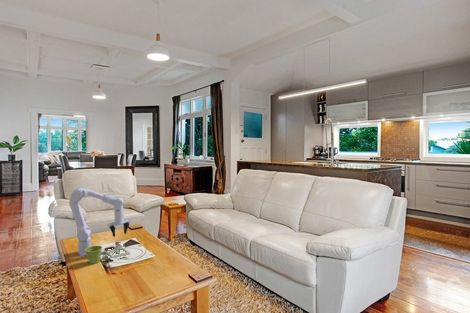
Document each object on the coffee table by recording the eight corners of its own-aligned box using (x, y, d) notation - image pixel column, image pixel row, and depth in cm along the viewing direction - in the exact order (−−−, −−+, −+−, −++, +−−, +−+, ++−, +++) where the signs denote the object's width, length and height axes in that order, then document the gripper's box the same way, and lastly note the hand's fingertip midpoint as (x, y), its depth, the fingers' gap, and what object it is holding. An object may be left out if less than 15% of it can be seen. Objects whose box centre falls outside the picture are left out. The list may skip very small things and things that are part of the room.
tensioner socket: (104, 251, 191) (104, 248, 191) (113, 249, 195) (113, 245, 195) (107, 254, 187) (107, 250, 187) (116, 251, 191) (116, 248, 191)
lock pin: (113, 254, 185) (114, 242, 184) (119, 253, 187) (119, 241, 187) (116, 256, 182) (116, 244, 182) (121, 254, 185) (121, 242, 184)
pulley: (115, 248, 196) (114, 244, 196) (123, 246, 200) (123, 242, 200) (118, 251, 192) (118, 247, 192) (127, 249, 196) (126, 245, 196)
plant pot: (96, 266, 170) (95, 252, 169) (82, 264, 172) (81, 250, 171) (106, 259, 179) (105, 246, 179) (93, 258, 181) (92, 245, 180)
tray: (106, 255, 184) (106, 251, 184) (123, 251, 192) (123, 246, 192) (112, 261, 176) (112, 256, 176) (129, 256, 184) (129, 251, 184)
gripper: (110, 218, 185) (110, 239, 186) (131, 214, 195) (132, 233, 196) (106, 216, 190) (107, 236, 191) (127, 212, 200) (128, 231, 201)
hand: (119, 235), depth 194 cm, fingers open, 7 cm apart
